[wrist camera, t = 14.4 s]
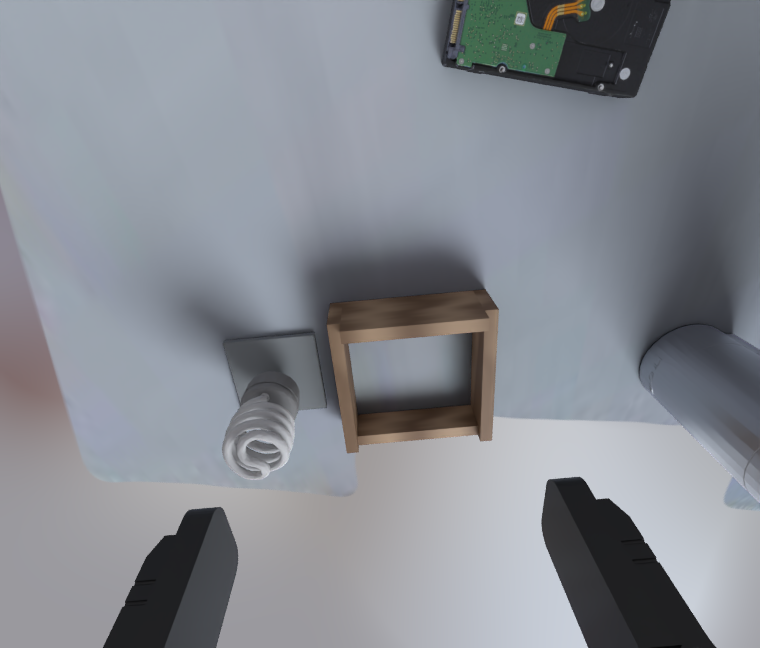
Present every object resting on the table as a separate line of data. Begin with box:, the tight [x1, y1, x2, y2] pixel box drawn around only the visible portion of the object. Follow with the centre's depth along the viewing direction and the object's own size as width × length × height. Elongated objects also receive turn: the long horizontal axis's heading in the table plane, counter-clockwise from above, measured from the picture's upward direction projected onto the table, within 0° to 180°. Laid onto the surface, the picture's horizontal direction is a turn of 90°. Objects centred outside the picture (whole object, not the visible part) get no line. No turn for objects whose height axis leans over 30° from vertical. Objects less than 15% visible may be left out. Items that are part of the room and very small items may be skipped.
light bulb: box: [222, 371, 300, 480], centre depth 38 cm, size 6×6×12 cm
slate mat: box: [223, 333, 327, 410], centre depth 44 cm, size 9×9×1 cm
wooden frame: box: [327, 289, 499, 453], centre depth 41 cm, size 15×15×6 cm
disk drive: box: [442, 0, 671, 98], centre depth 30 cm, size 10×3×15 cm
